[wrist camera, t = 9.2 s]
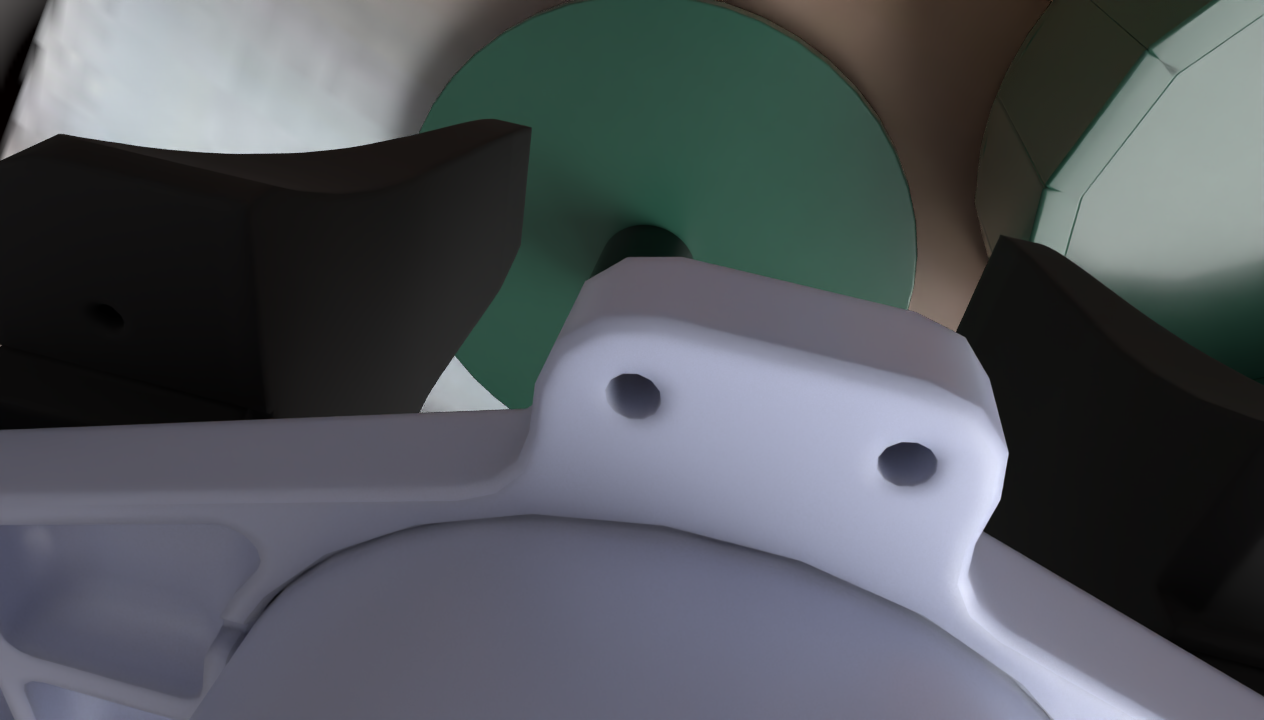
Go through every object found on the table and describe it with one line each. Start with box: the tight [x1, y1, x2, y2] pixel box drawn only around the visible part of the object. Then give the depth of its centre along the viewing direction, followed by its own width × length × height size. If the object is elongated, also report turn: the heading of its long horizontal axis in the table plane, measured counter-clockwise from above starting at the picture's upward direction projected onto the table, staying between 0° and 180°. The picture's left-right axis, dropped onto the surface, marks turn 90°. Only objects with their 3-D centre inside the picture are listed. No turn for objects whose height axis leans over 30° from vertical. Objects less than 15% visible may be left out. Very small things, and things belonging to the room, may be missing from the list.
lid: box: [419, 0, 917, 409], centre depth 22 cm, size 14×14×6 cm
